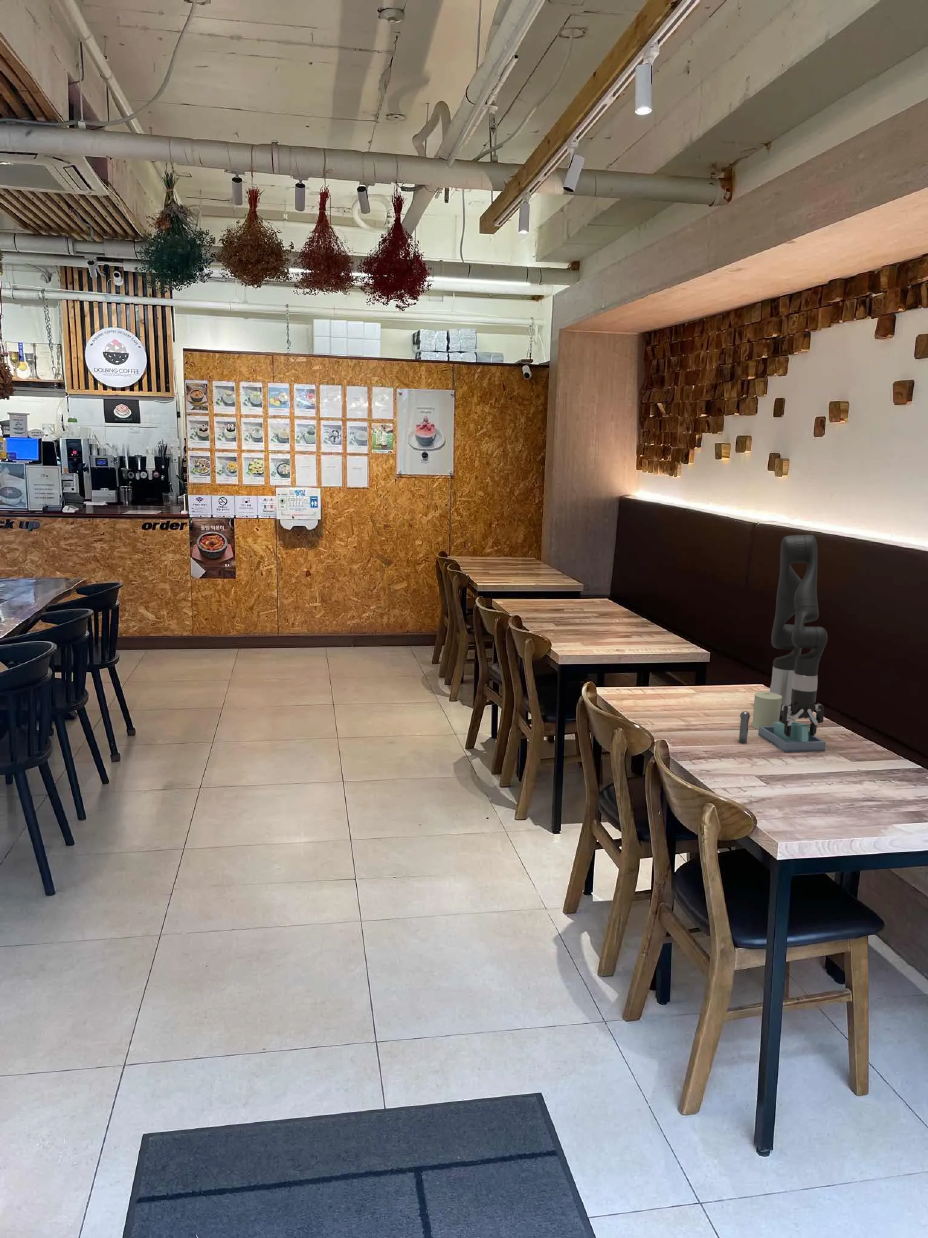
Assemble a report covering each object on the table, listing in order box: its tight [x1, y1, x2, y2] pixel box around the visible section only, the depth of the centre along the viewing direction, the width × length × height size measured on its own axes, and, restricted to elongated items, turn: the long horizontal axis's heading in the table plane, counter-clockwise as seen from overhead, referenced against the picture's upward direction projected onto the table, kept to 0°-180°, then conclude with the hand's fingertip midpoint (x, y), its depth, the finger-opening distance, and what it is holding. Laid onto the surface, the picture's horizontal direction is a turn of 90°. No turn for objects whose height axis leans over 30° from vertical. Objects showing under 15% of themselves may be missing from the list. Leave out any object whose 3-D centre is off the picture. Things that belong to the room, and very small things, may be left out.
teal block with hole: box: [774, 721, 810, 742], centre depth 286 cm, size 12×8×5 cm, turn 9°
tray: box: [757, 726, 827, 753], centre depth 289 cm, size 18×14×3 cm
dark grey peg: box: [738, 710, 751, 744], centre depth 287 cm, size 3×3×11 cm
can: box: [751, 691, 782, 731], centre depth 304 cm, size 9×9×12 cm
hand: (799, 735), depth 284 cm, fingers open, 8 cm apart
